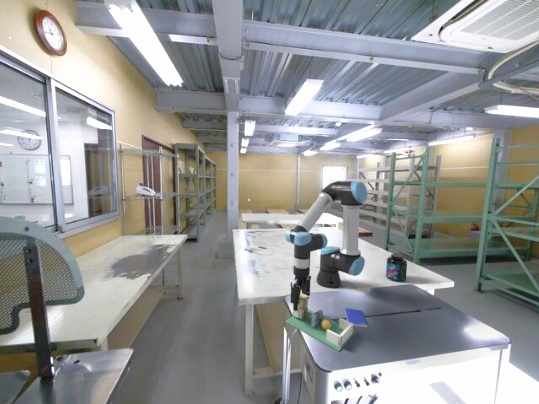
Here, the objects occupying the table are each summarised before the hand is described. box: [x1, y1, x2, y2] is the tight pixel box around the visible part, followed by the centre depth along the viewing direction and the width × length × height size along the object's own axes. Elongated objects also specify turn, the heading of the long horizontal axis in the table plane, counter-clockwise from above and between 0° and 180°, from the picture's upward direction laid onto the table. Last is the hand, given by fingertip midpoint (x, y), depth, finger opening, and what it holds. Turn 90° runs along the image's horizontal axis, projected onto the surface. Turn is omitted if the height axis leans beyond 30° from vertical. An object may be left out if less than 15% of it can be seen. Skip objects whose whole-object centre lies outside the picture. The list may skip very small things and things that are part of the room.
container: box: [385, 253, 408, 283], centre depth 155 cm, size 12×12×17 cm
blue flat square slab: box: [344, 307, 369, 328], centre depth 109 cm, size 2×8×12 cm
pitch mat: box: [284, 308, 357, 352], centre depth 101 cm, size 16×26×1 cm, turn 47°
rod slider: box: [291, 292, 324, 328], centre depth 105 cm, size 7×12×10 cm, turn 47°
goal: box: [326, 317, 355, 347], centre depth 95 cm, size 12×6×4 cm, turn 137°
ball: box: [321, 320, 331, 330], centre depth 99 cm, size 4×4×4 cm
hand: (299, 313), depth 108 cm, fingers closed on rod slider, 5 cm apart
